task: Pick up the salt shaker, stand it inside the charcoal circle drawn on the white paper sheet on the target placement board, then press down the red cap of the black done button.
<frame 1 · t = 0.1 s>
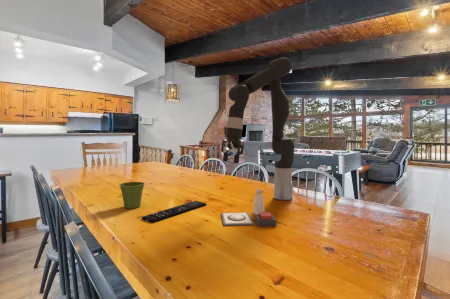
hand: (230, 162, 118), 22 cm above the table, fingers open, 8 cm apart
done button: (265, 216, 101), point 3 cm above the table, slide at 0.0 cm
remote control: (176, 213, 115), on the table
button housing: (265, 223, 102), on the table
target placement board: (236, 219, 106), on the table
plant pot: (132, 207, 122), on the table
salt shaker: (258, 213, 114), on the table
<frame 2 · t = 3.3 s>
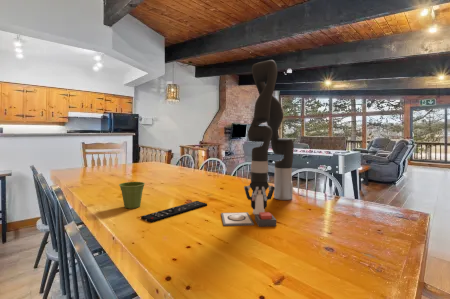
hand: (258, 208, 113), 2 cm above the table, fingers closed on salt shaker, 4 cm apart
salt shaker: (258, 213, 114), on the table, touching gripper
everything else where it was.
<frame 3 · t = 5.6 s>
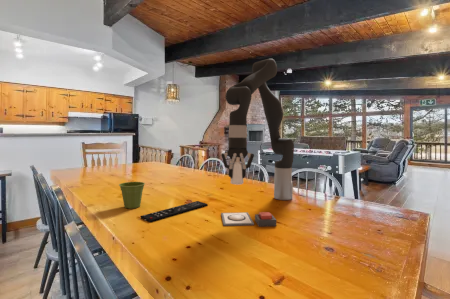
hand: (237, 177, 104), 18 cm above the table, fingers closed on salt shaker, 4 cm apart
salt shaker: (236, 183, 105), point 15 cm above the table, touching gripper
everything else where it was.
when the fingers open (5 cm above the table, at t = 8.4 s): salt shaker drops 1 cm, resting on target placement board.
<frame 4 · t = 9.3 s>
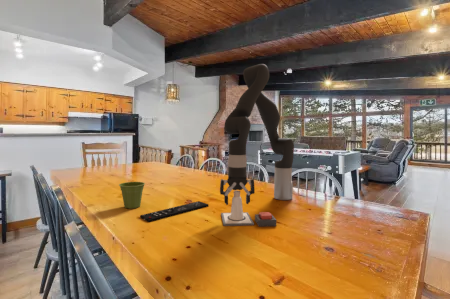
hand: (237, 204, 105), 7 cm above the table, fingers open, 8 cm apart
salt shaker: (236, 217, 106), point 1 cm above the table, touching target placement board
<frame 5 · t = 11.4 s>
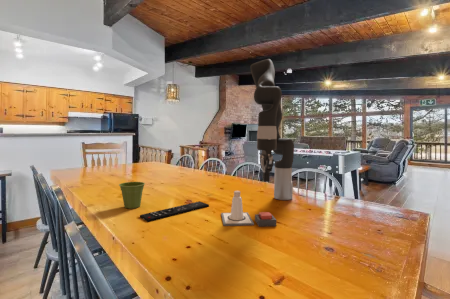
hand: (266, 181, 100), 17 cm above the table, fingers closed
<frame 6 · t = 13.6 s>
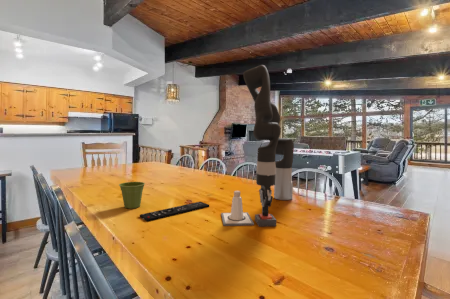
hand: (265, 215, 101), 3 cm above the table, fingers closed
done button: (265, 217, 101), point 2 cm above the table, slide at 0.7 cm, touching gripper
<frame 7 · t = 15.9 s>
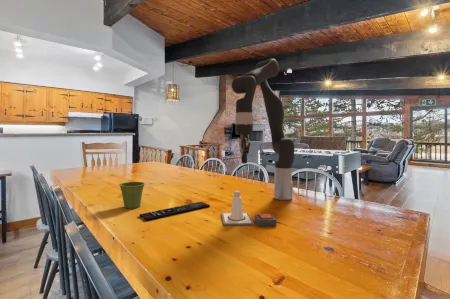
hand: (244, 163, 111), 23 cm above the table, fingers closed
done button: (265, 217, 101), point 2 cm above the table, slide at 0.8 cm
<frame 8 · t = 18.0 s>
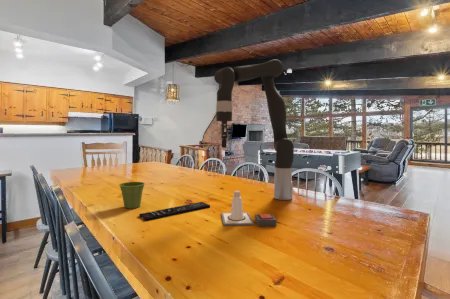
hand: (223, 147, 121), 29 cm above the table, fingers closed
at the end: salt shaker 0.1 cm off-centre on the target placement board, point 0.7 cm above the target placement board's base; salt shaker tilted 0°; done button slide at 0.8 cm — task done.
